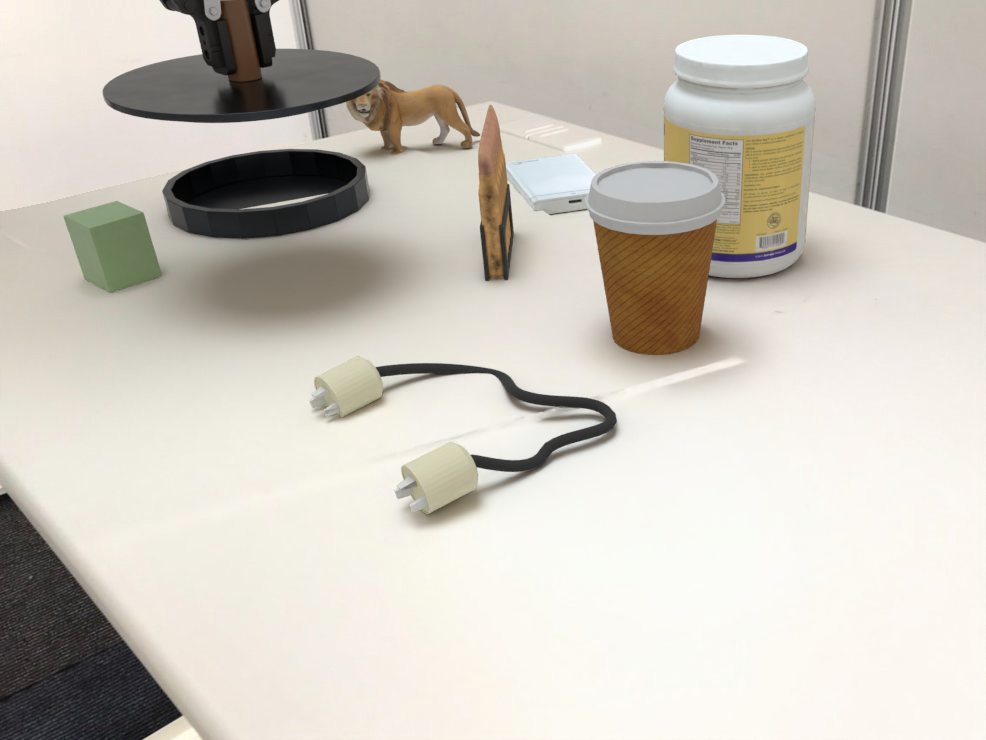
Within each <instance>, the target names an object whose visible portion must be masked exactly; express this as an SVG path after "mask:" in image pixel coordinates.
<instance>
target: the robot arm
mask: <svg viewBox="0 0 986 740" xmlns="http://www.w3.org/2000/svg"><path fill="white" fill-rule="evenodd" d="M279 1H280V0H247V2H248V7H249V12H250V17H251V23H252V28H253V33H254V38H255V43H256V48H257V53H258V58H259V63H260V68H265V67H270V66H272V63H273V62H272V57H275V53H276V49H277V47H276V42H275V37H274V31H273V26H272V20H271V15H270V12H271V11H270V10H271V8H272V6H273V5H275V4H276V3H277V2H279ZM159 2H160V4H161V5H162V6H163V8H165V10H168V11H170V12H171V11H172V12H177V13H181V14H183V15H186V16H190V17H191V18H192V20H193V21H194V24H195V26H196V32H197V37H198V41H199V46H200V49H201V54H202V55H203V59H204V60H205V62H206V64H207V65H209V66H212V68H213V70H214V71H215V72H216V73H219V74H222V75H225V76H226V75H231V74H235V73H236V67H235V62H234V57H233V53H232V48H231V43H230V38H229V34H228V29H227V24H226V20H223V19H220V16H221V4H220V0H159Z"/></svg>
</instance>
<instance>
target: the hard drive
mask: <svg viewBox="0 0 986 740" xmlns="http://www.w3.org/2000/svg"><path fill="white" fill-rule="evenodd" d="M506 173H507V181H508V182H510V184H511V185H512V187H513V188H514V189H515V190H516V192H517V193H518V194H519V195H521V197H522V198H523V199H524V200H525V202H526V203H527V204H528V206H529V207H530V208H531V209H532V210H533V211H534V212H538V211H539V212H540V211H543V212H545V213H546V214H547V215H554V214H561V213H567V212H576V211H582V210H587V208H586V207H585V198H586V196H587V194H588V193H589V191H590V186H591V180H592V179H593V177H594V176H595V175H596V174H598V172H596V171H595V170H594V169H593V168H592V167H591V166H589V164H587V162H586V161H584V159H582V157H580V156H579V155H578V154H576V153H569V154H568V153H567V154H561V155H560V154H559V155H553V156H552V155H551V156H546V157H538V158H529V159H521V160H514V161H506Z"/></svg>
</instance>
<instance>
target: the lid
mask: <svg viewBox="0 0 986 740" xmlns="http://www.w3.org/2000/svg"><path fill="white" fill-rule="evenodd" d="M220 4H221V16H220V19H223V20H226V24H227V29H228V34H229V38H230V43H231V48H232V53H233V57H234V62H235V67H236V73H235V74H231V75H226V76H225V75H222V74H219V73H216V72H215V71H214V70H213V68H212V66H209V65H207V64H206V62H205V60H204V59H203V55H202V53H201V54H194V55H188V56H182V57H176V58H172V59H171V58H170V59H167V60H162V61H159V62H158V61H157V62H153V63H151V64H146V65H143V66H139V67H137V68H134V69H131V70H129V71H126V72H124V73H122V74H120V75H117V76H115V77H114V78H113V79H111V80H109V81H107V83H106V84H105V85H104V86H103V87H102V97H103V101H104V102H105V104H106V105H107V106H108V107H109V108H111V109H112V110H114V111H117V112H119V113H121V114H125V115H129V116H131V117H137V118H142V119H148V120H157V121H165V122H166V121H167V122H179V123H180V122H181V123H197V124H230V123H232V124H233V123H234V124H235V123H248V122H249V123H250V122H259V121H267V120H275V119H282V118H289V117H295V116H300V115H304V114H308V113H312V112H316V111H320V110H323V109H327V108H331V107H335V106H338V105H342V104H346V102H347V101H350V100H353V99H355V98H358V97H360V96H362V95H364V94H366V93H368V92H370V91H371V90H373V89H374V88H375V87H376V86H377V85H378V84H379V82H380V79H382V78H381V77H382V76H381V70H380V68H379V66H378V65H377V64H376V63H374V62H372V61H371V60H370V59H366V58H363V57H362V56H358V55H354V54H350V53H344V52H340V51H339V52H338V51H333V50H332V51H331V50H323V49H309V48H276V53H275V57H272V62H273V63H272V66H270V67H265V68H260V63H259V58H258V53H257V48H256V43H255V38H254V33H253V28H252V23H251V17H250V12H249V7H248V2H247V0H220Z"/></svg>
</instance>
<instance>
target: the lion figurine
mask: <svg viewBox="0 0 986 740" xmlns="http://www.w3.org/2000/svg"><path fill="white" fill-rule="evenodd" d="M345 105H346V108H347V110H348V113H349V114H350V116H351V117H352V118H353V119H354V120H355V121H358V122H361V123H362V124H364V125H365V126H366V128H368V129H369V130H370V131H373V132H379V133H380V136H381V138H382V141H383V145H382V146H381V147H380V150H390V149H393V151H391V152H390V153H389V155H392V156H397V155H400V154H403V146H402V145H403V144H402V140H401V137H402V129H403V127H414V126H419V125H421V124H424V123H425V122H427V121H428V120H430V119H431V118H432V117H434V118H435V120H436V122H437V124H438V126H439V130H440V131H439V135H438V136H436V137H433V139H432V144H433V145H442V144H444V143H445V141H446V138H447V137H448V135H449V133H450V131H451V129H450V128H452V129H454V130H455V131H457V132H458V133H461V134H462V135H463V136H464V140H462V141H461V142H460V147H461V148H463V149H469V148H472V146H473V137H476V138H478V137H481V133H479V132H478V130H475V129H474V128H473V127H472V125H471V121H470V118H469V115H468V112H467V109H466V106H465V104H464V102H463V99H462V98H461V97H460V95H459V94H458V93H457V91H456V90H454V89H453V88H451V87H449V86H447V85H442V84H433V85H430V86H429V85H428V86H427V87H424V88H420V89H415V90H409V91H405V90H404V89H401V88H399V87H397V86H396V85H395V84H393V83H392V82H390V81H389V80H383V79H382V78H380V82H379V84H378V85H377V86H376V87H375V88H374V89H373V90H371V91H370V92H368V93H366V94H364V95H362V96H360V97H358V98H355V99H353V100H350V101H347V102H345ZM457 107H458V109H459V110H458V109H457ZM458 111H460V113H461V116H460V115H459V112H458ZM461 117H462V118H463V119H462V118H461Z"/></svg>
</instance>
